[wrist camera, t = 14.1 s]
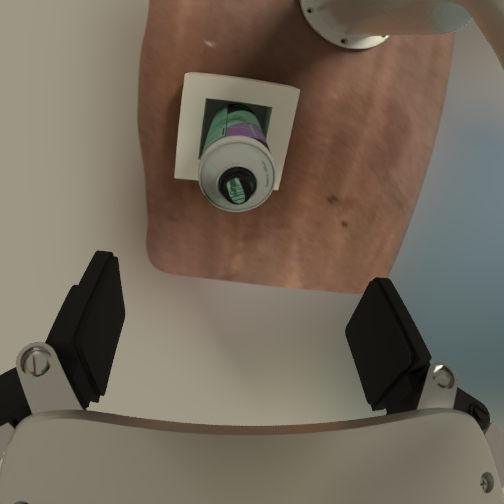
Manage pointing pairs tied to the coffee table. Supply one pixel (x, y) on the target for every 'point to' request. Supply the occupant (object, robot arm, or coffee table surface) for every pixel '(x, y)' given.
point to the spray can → (236, 161)
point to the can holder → (225, 92)
